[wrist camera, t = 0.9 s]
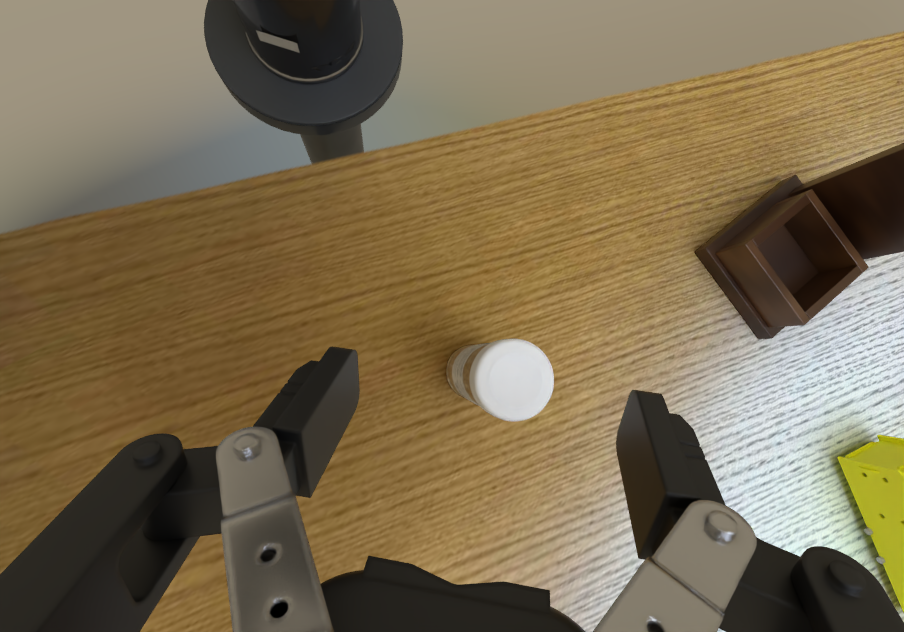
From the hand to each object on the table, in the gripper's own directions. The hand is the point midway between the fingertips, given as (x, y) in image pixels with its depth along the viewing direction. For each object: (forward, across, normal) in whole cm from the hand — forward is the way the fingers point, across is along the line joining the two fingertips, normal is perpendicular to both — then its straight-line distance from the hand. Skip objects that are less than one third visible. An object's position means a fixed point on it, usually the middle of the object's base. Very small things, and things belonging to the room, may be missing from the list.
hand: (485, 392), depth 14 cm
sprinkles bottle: (+20, +2, +14) cm, 25 cm away
